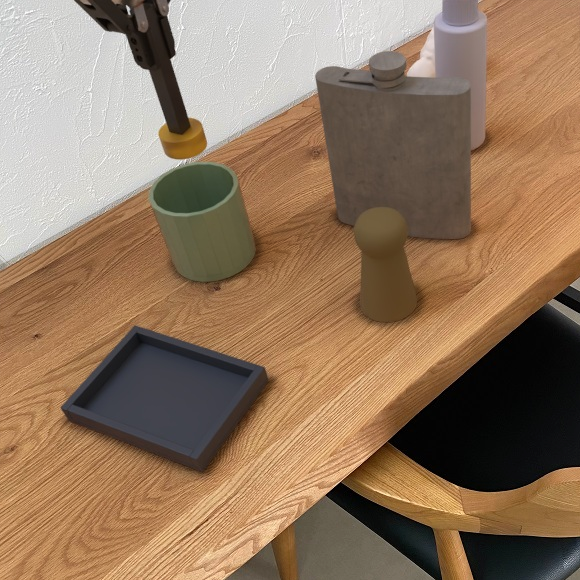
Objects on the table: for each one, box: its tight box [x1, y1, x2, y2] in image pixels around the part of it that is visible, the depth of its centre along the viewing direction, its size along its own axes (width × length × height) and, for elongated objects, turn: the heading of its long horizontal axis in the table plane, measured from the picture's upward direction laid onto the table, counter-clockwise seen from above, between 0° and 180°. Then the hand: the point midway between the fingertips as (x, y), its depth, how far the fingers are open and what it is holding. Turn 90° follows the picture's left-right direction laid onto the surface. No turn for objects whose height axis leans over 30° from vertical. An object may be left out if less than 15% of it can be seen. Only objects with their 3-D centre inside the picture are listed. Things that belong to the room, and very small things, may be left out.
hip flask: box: [314, 50, 472, 240], centre depth 84 cm, size 16×4×20 cm, turn 73°
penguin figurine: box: [406, 25, 436, 78], centre depth 107 cm, size 6×8×12 cm
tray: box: [59, 325, 270, 473], centre depth 76 cm, size 16×12×2 cm
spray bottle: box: [433, 0, 488, 151], centre depth 93 cm, size 6×6×22 cm
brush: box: [128, 3, 208, 161], centre depth 75 cm, size 4×4×14 cm
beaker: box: [148, 161, 257, 283], centre depth 87 cm, size 9×9×9 cm
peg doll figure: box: [353, 207, 418, 323], centre depth 79 cm, size 6×6×11 cm
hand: (158, 61), depth 74 cm, fingers closed on brush
